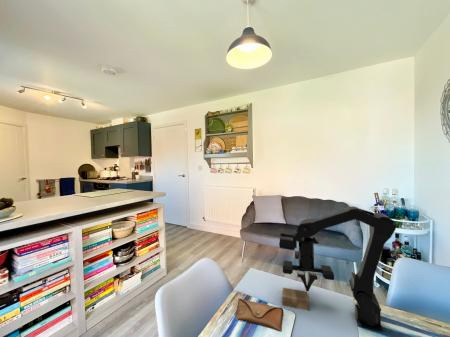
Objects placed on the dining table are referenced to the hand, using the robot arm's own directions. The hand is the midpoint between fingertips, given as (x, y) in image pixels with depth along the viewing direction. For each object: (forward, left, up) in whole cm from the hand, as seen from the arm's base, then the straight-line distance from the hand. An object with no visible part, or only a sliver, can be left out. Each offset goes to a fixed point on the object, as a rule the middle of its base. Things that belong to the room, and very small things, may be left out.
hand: (307, 290), depth 77 cm
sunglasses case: (+18, +12, -7) cm, 23 cm away
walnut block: (0, 0, -4) cm, 4 cm away
